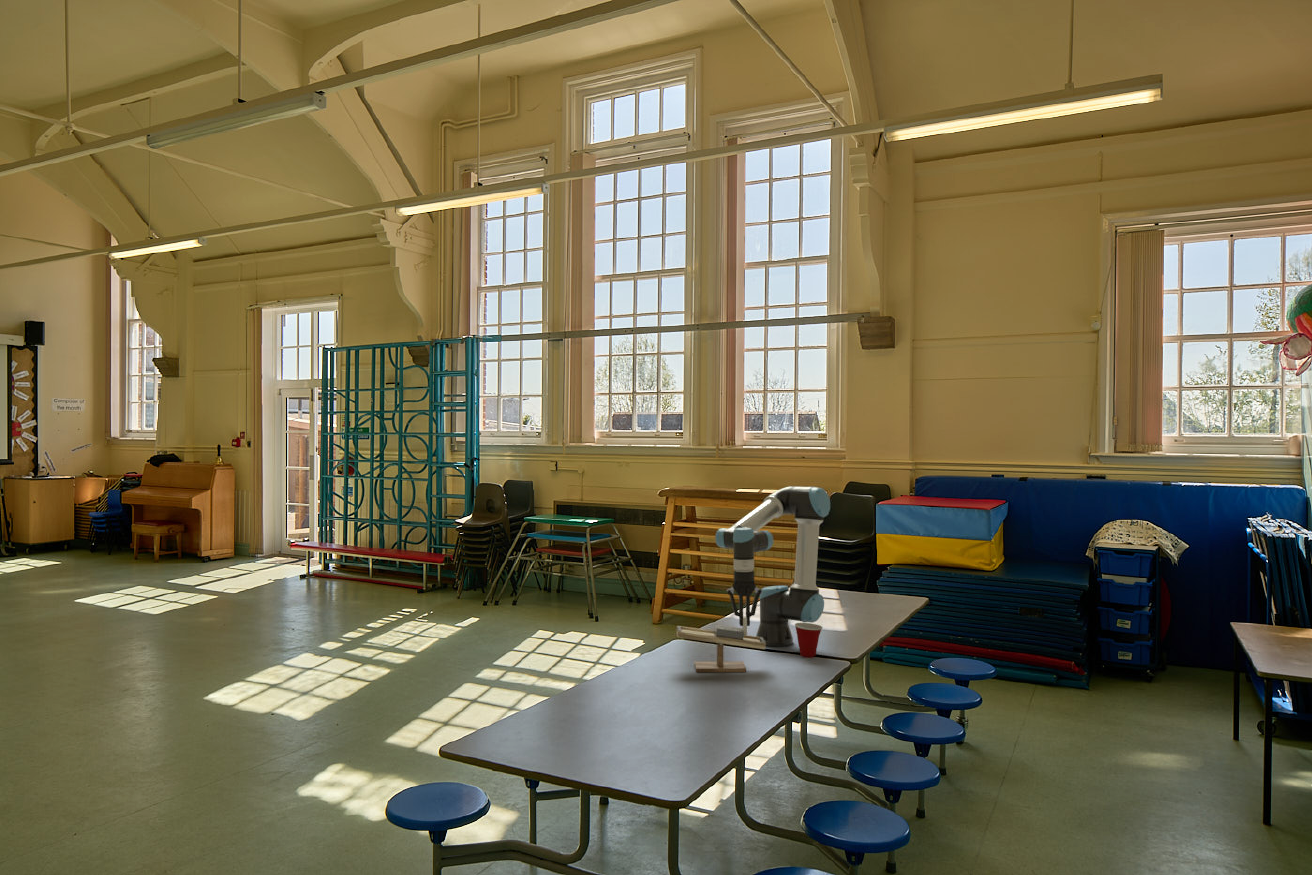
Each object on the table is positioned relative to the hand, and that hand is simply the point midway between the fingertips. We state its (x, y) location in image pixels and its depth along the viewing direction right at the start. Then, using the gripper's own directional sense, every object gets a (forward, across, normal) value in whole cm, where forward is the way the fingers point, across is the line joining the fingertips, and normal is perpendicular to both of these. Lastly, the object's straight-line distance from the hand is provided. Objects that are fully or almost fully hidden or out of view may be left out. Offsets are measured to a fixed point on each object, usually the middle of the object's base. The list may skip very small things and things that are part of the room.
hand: (744, 634), depth 321 cm
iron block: (+1, -6, 0) cm, 6 cm away
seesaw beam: (+2, -9, 0) cm, 9 cm away
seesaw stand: (+12, -9, 0) cm, 15 cm away
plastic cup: (+13, +27, +18) cm, 35 cm away
